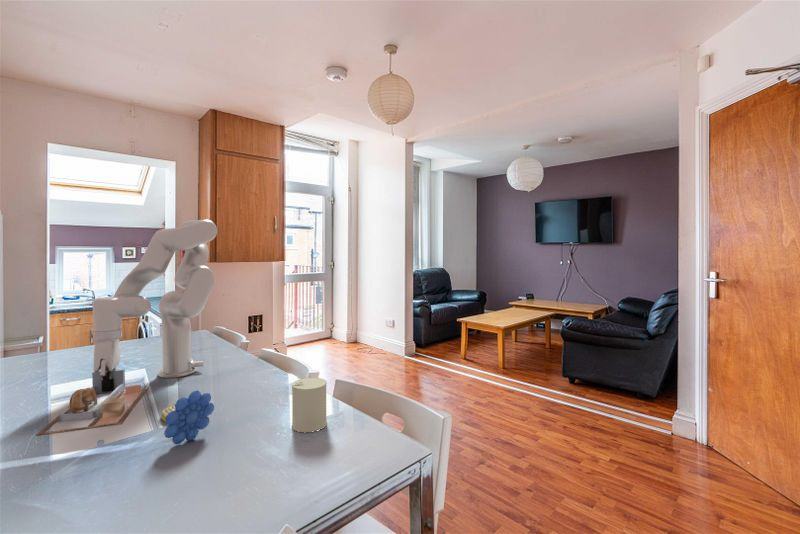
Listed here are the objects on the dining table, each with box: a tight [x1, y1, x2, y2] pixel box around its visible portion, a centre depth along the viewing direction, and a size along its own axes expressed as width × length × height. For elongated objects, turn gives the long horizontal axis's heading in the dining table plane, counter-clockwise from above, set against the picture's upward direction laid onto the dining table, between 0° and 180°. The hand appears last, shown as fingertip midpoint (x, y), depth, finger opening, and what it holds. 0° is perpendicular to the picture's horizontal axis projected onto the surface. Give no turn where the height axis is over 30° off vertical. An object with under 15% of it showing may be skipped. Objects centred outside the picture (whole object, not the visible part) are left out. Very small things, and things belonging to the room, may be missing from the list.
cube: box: [102, 396, 126, 418], centre depth 105 cm, size 4×4×4 cm
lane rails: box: [35, 387, 149, 436], centre depth 109 cm, size 18×28×1 cm, turn 22°
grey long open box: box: [56, 368, 126, 423], centre depth 114 cm, size 8×26×7 cm, turn 22°
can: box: [291, 377, 328, 434], centre depth 101 cm, size 9×9×12 cm
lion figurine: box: [68, 387, 98, 413], centre depth 107 cm, size 15×5×9 cm, turn 33°
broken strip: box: [95, 383, 143, 426], centre depth 111 cm, size 5×26×3 cm, turn 21°
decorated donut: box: [160, 403, 176, 423], centre depth 105 cm, size 10×11×4 cm
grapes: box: [163, 390, 215, 445], centre depth 93 cm, size 12×7×12 cm, turn 143°
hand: (109, 389), depth 125 cm, fingers closed
